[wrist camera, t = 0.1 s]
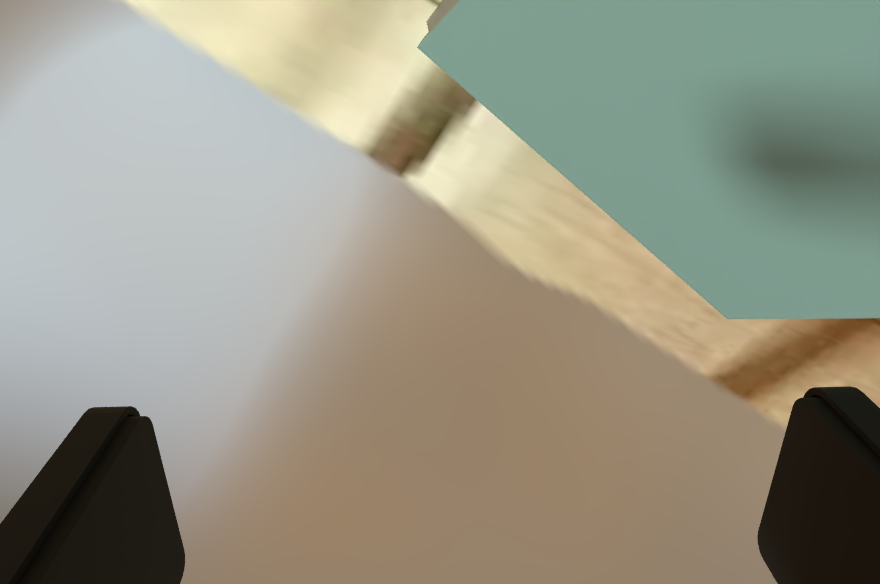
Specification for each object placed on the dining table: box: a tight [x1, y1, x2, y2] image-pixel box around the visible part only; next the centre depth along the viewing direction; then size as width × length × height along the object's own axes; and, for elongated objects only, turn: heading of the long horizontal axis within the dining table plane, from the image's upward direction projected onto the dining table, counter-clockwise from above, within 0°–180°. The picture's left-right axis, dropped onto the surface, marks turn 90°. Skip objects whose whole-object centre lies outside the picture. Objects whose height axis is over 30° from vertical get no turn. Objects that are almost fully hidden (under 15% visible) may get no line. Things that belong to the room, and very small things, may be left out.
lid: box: [417, 0, 880, 319], centre depth 18 cm, size 21×19×1 cm
